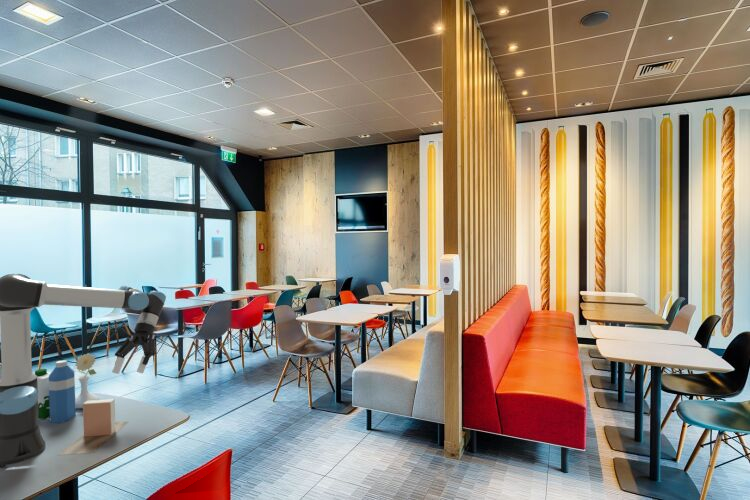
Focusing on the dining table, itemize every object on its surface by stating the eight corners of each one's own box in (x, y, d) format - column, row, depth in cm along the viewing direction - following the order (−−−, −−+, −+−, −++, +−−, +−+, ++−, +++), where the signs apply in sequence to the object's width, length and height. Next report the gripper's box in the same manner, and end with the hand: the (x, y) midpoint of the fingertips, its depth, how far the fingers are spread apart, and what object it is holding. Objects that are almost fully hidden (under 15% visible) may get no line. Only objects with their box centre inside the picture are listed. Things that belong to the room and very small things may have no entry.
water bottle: (80, 417, 176) (78, 360, 175) (54, 425, 168) (52, 366, 167) (71, 412, 181) (69, 357, 180) (45, 420, 173) (43, 362, 172)
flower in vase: (63, 409, 184) (61, 355, 184) (87, 399, 195) (86, 348, 194) (83, 412, 180) (82, 357, 180) (107, 403, 191) (106, 350, 190)
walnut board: (58, 457, 143) (58, 455, 143) (98, 425, 168) (98, 423, 168) (94, 454, 144) (94, 452, 144) (128, 423, 169) (128, 421, 169)
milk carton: (47, 410, 184) (46, 366, 183) (64, 411, 182) (62, 367, 181) (27, 418, 175) (26, 373, 174) (44, 420, 173) (43, 374, 173)
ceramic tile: (88, 433, 159) (87, 400, 159) (115, 431, 161) (114, 398, 160) (83, 437, 156) (82, 404, 156) (111, 434, 157) (110, 402, 157)
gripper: (174, 326, 178) (157, 374, 167) (131, 329, 186) (112, 375, 175) (161, 320, 172) (143, 369, 161) (118, 323, 180) (97, 370, 169)
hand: (127, 372), depth 168 cm, fingers open, 13 cm apart
